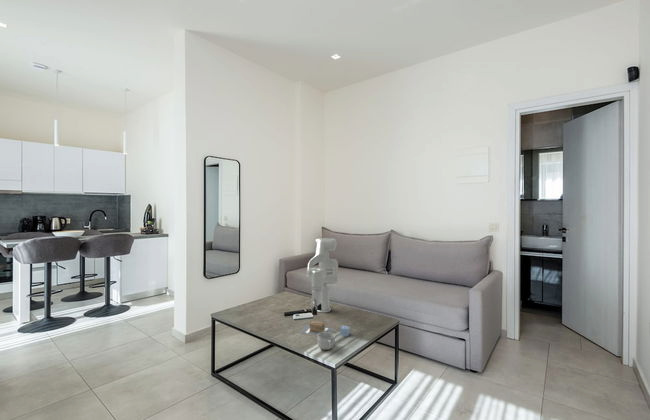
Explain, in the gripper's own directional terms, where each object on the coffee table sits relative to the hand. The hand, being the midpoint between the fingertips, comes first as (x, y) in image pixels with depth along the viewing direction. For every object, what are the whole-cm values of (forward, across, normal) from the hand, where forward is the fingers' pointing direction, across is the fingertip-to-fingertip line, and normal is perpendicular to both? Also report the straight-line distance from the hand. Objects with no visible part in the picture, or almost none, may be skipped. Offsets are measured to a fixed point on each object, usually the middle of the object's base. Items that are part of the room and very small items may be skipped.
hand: (317, 312), depth 215 cm
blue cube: (+13, -1, +20) cm, 24 cm away
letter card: (+13, -1, 0) cm, 13 cm away
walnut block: (+13, -1, 0) cm, 13 cm away
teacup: (+14, +22, +14) cm, 29 cm away
